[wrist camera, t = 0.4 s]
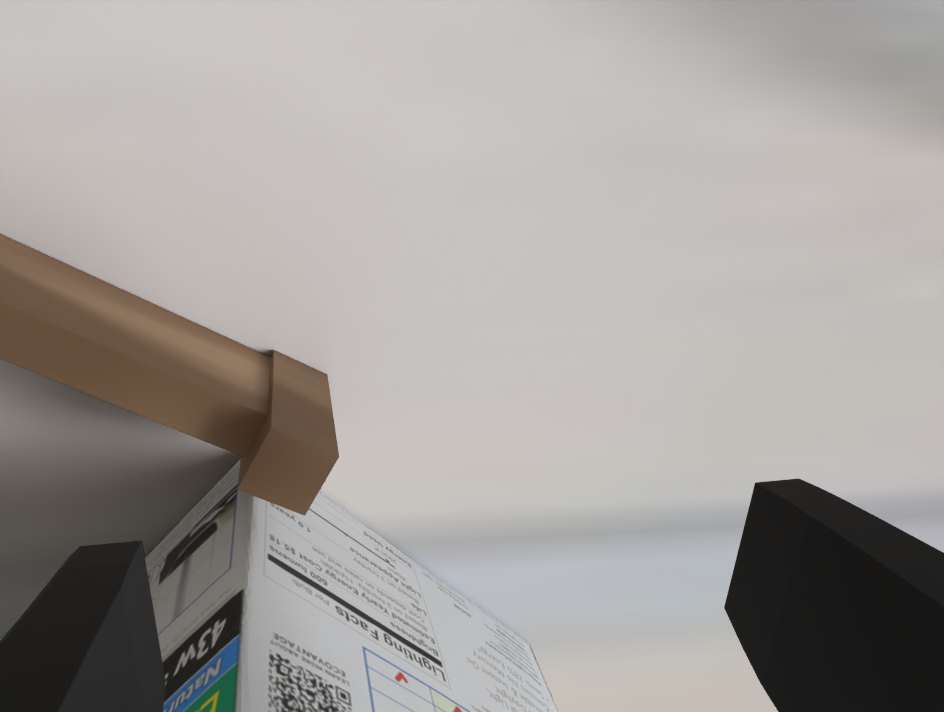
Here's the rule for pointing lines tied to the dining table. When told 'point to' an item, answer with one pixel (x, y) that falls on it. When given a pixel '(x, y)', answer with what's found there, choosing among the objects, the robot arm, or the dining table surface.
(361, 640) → the light bulb box
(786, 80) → the dining table surface
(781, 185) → the dining table surface
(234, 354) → the crate
